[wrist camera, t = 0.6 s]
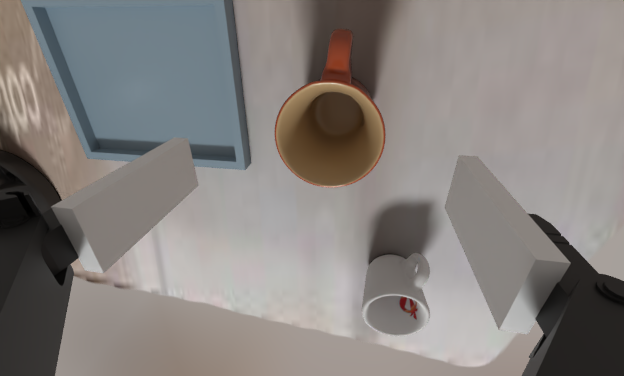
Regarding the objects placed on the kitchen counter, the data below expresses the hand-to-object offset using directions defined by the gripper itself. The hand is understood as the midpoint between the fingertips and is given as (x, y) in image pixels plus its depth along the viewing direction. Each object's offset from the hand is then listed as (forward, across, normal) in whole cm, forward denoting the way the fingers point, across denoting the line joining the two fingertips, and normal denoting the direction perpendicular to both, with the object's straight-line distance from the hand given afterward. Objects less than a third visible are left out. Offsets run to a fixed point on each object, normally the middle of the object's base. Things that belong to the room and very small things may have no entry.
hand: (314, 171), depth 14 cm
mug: (+19, 0, 0) cm, 19 cm away
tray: (+19, -22, 0) cm, 29 cm away
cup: (+19, +9, -23) cm, 31 cm away
